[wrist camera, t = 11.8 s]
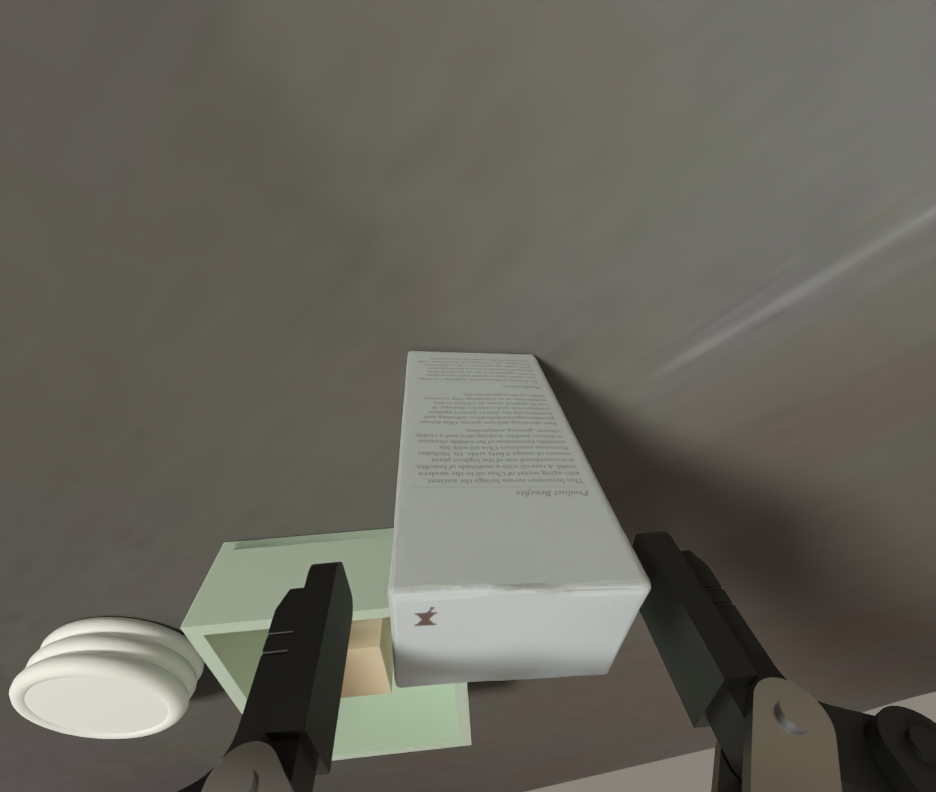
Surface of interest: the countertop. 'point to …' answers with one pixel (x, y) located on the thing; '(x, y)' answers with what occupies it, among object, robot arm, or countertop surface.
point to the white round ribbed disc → (108, 679)
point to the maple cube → (369, 659)
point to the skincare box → (501, 532)
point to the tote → (367, 569)
